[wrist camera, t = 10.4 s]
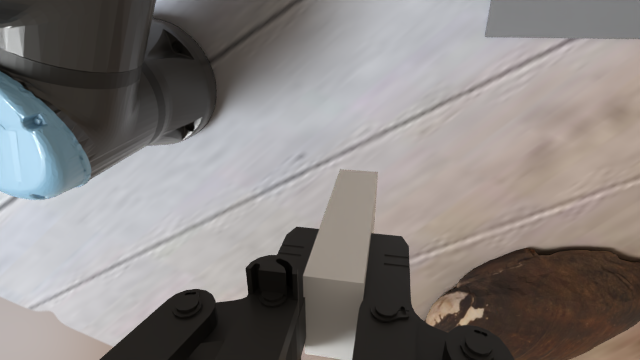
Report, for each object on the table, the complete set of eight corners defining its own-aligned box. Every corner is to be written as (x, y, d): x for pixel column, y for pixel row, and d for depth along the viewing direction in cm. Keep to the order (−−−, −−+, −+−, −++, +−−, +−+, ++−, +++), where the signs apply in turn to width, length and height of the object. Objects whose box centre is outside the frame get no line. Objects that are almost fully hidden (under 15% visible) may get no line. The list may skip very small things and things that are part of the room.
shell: (619, 194, 45) (671, 235, 38) (660, 295, 53) (711, 345, 46) (378, 306, 56) (384, 354, 49) (441, 378, 63) (454, 428, 56)
